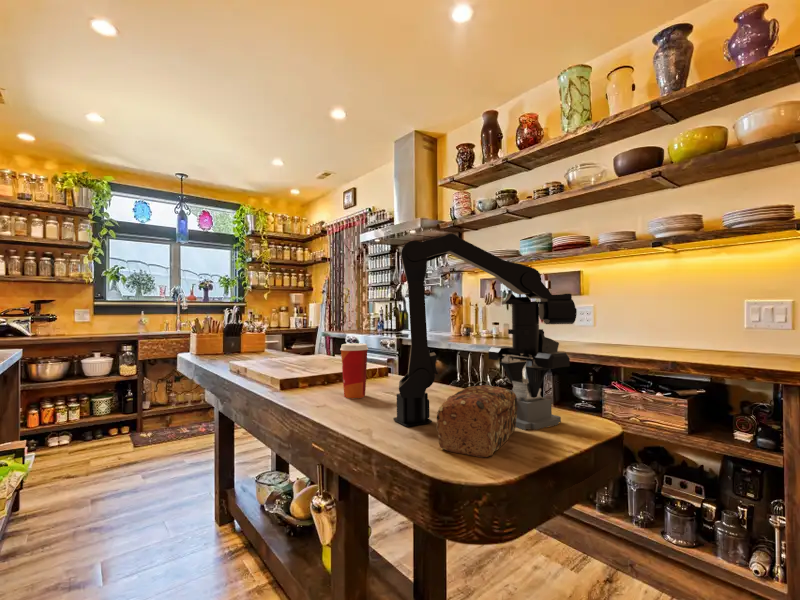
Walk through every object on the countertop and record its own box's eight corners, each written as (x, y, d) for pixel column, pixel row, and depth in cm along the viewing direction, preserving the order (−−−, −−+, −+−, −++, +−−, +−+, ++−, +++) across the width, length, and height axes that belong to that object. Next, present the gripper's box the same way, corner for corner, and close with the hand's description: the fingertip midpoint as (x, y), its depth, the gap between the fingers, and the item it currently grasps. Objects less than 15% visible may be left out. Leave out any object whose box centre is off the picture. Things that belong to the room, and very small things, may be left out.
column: (526, 423, 85) (525, 383, 86) (512, 419, 89) (511, 380, 89) (541, 420, 88) (541, 381, 88) (528, 416, 91) (527, 378, 91)
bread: (492, 461, 66) (491, 400, 66) (433, 451, 71) (432, 394, 71) (519, 431, 82) (519, 382, 82) (470, 424, 87) (469, 378, 87)
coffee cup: (353, 392, 121) (353, 342, 121) (374, 395, 116) (374, 343, 117) (333, 397, 114) (333, 344, 115) (355, 401, 109) (354, 346, 110)
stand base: (528, 431, 81) (527, 403, 81) (491, 418, 90) (491, 393, 91) (564, 423, 86) (563, 397, 86) (526, 412, 96) (525, 388, 96)
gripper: (586, 325, 85) (588, 399, 84) (520, 322, 101) (521, 385, 101) (549, 326, 79) (551, 406, 79) (486, 324, 95) (487, 389, 95)
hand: (526, 395), depth 88 cm, fingers closed on column, 4 cm apart
